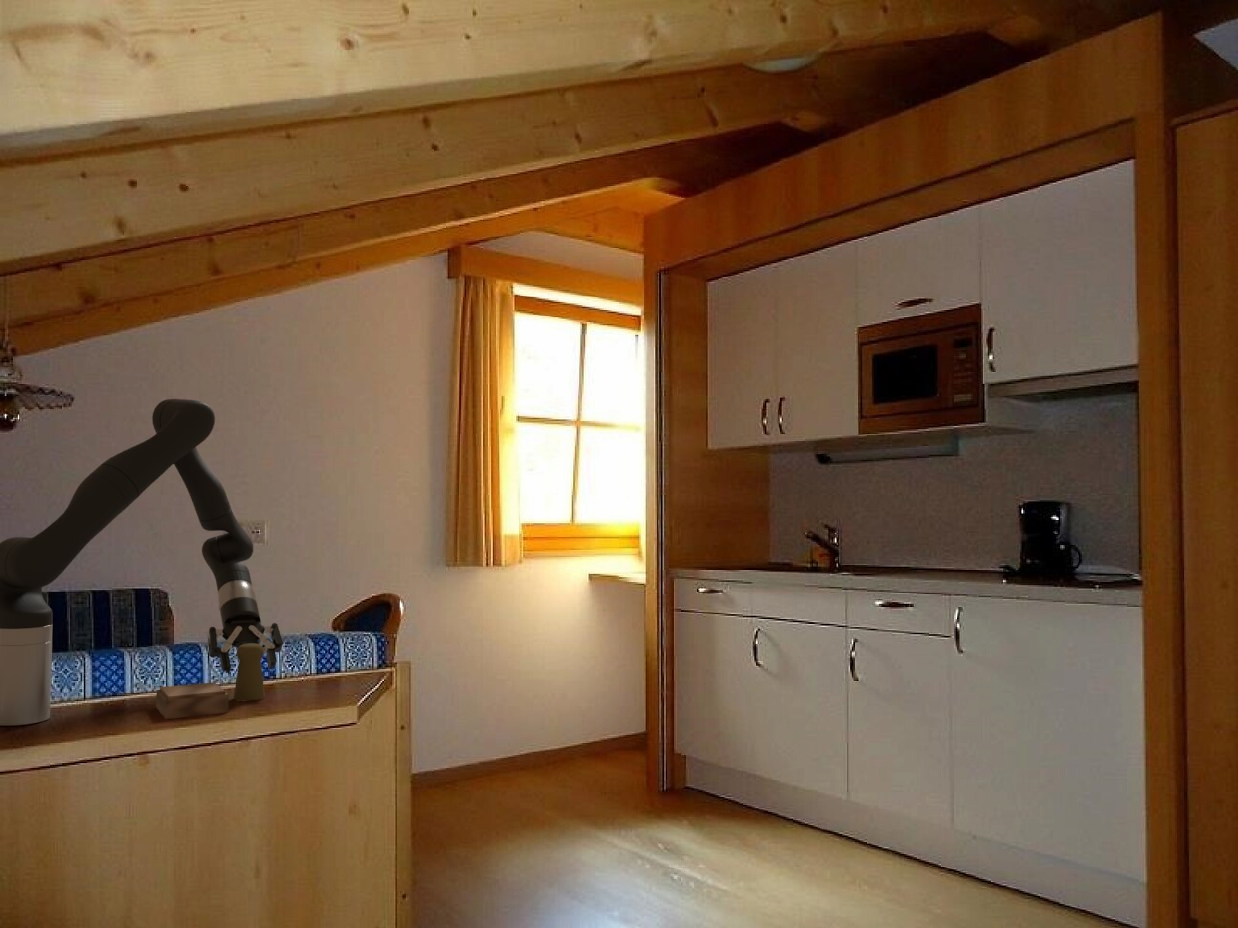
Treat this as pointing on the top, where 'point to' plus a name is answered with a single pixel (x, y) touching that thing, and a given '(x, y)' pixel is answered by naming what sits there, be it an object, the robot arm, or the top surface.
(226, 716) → the top surface
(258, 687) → the cork
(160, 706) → the plinth
